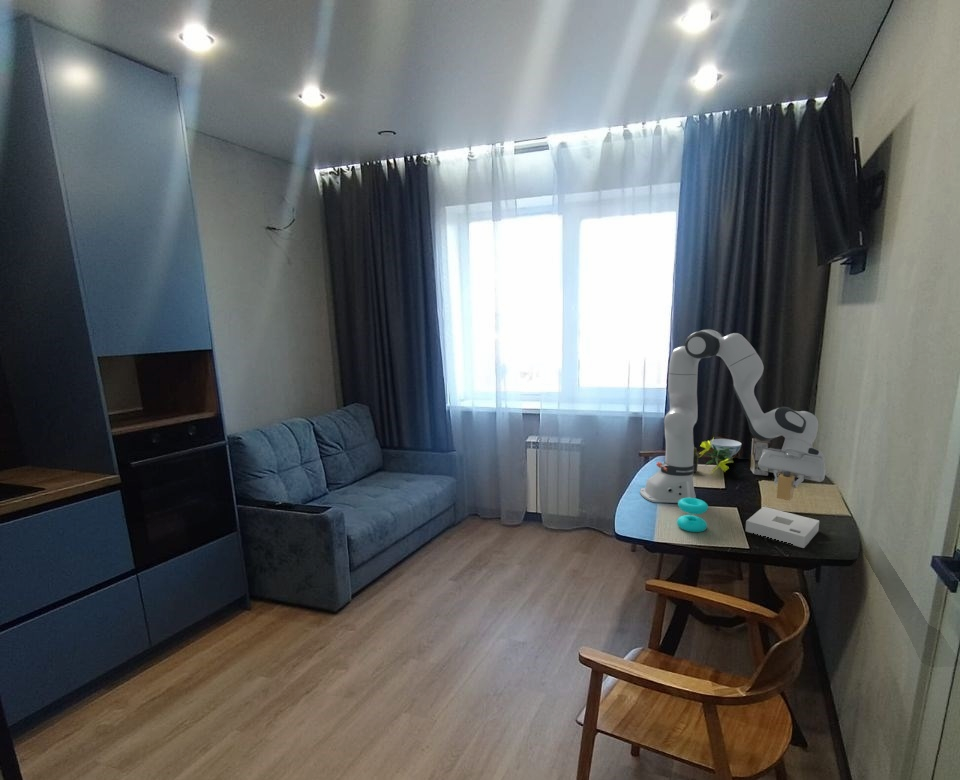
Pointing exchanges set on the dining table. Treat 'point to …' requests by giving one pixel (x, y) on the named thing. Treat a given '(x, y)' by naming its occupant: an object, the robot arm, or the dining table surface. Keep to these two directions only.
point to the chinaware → (726, 445)
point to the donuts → (692, 521)
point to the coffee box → (758, 455)
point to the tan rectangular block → (785, 486)
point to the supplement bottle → (695, 460)
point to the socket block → (783, 526)
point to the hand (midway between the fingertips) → (785, 484)
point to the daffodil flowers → (717, 453)
